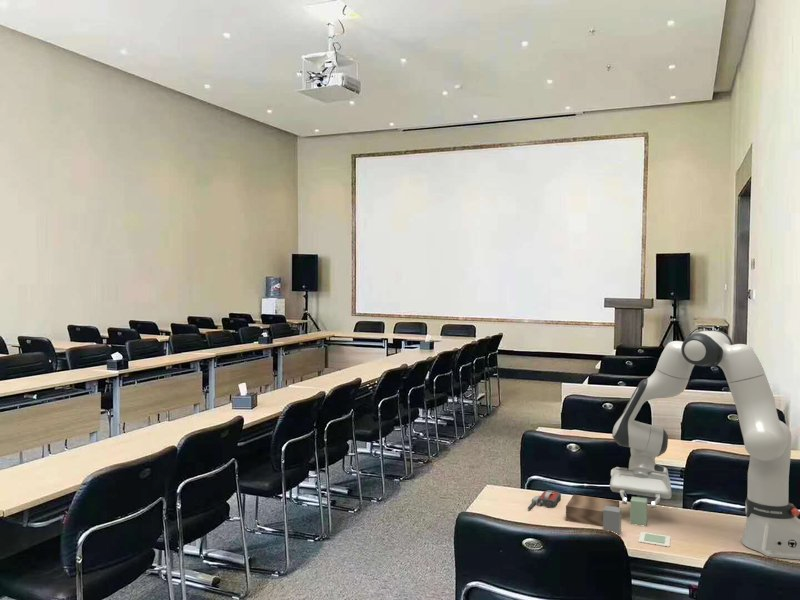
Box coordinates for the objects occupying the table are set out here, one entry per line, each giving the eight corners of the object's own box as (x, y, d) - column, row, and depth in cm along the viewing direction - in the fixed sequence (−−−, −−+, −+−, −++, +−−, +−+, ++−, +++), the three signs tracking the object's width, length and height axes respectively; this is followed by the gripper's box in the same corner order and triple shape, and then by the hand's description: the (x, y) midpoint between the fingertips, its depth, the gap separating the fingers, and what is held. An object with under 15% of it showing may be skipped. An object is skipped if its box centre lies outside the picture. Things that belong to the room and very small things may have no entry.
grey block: (621, 531, 208) (621, 507, 208) (619, 537, 204) (619, 512, 204) (605, 529, 211) (605, 505, 210) (603, 534, 206) (603, 510, 206)
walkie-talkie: (539, 496, 246) (525, 511, 229) (539, 484, 246) (525, 499, 229) (562, 499, 243) (550, 515, 225) (562, 488, 242) (550, 503, 225)
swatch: (670, 537, 204) (670, 535, 204) (669, 547, 196) (669, 545, 195) (641, 532, 208) (641, 531, 208) (638, 542, 199) (638, 540, 199)
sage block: (647, 521, 218) (647, 498, 218) (646, 526, 213) (646, 502, 213) (631, 519, 220) (632, 496, 220) (630, 523, 216) (630, 500, 216)
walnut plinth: (619, 514, 224) (619, 500, 224) (614, 527, 212) (614, 513, 212) (573, 508, 231) (573, 494, 231) (565, 520, 219) (565, 506, 219)
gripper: (610, 461, 228) (606, 496, 220) (672, 468, 219) (670, 505, 211) (612, 471, 232) (608, 505, 224) (672, 478, 223) (670, 514, 215)
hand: (638, 505), depth 217 cm, fingers open, 8 cm apart
